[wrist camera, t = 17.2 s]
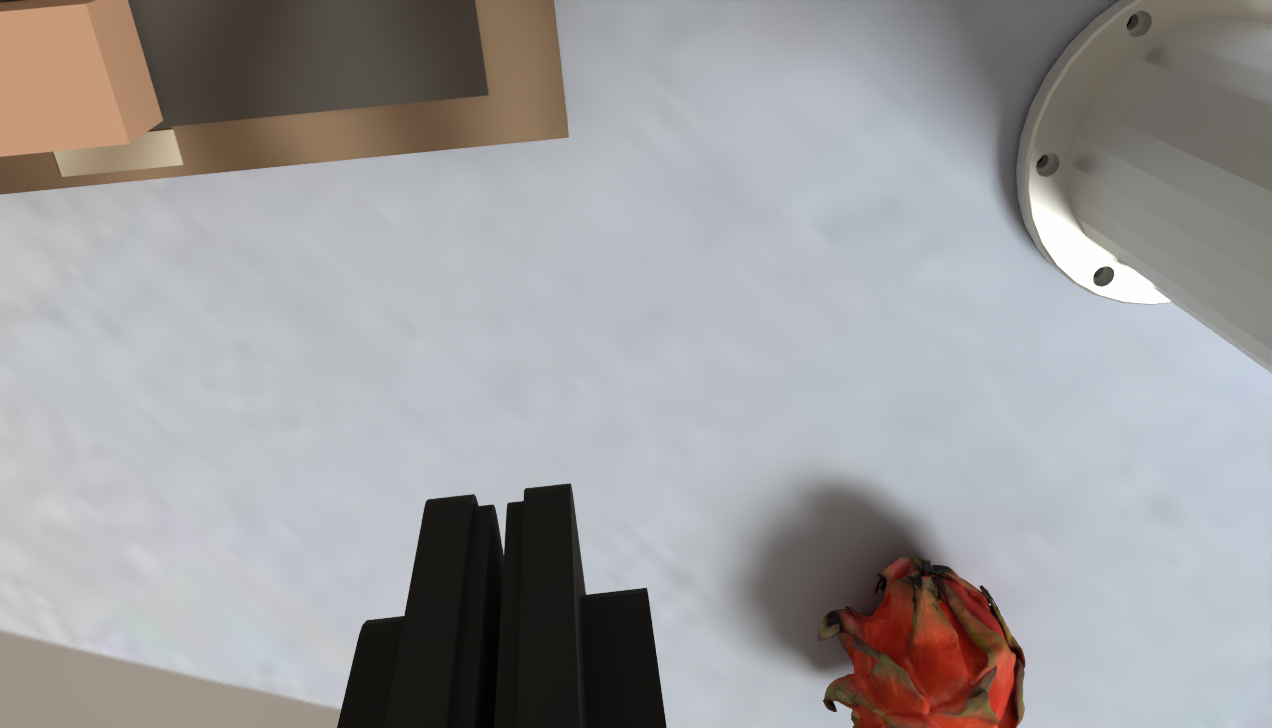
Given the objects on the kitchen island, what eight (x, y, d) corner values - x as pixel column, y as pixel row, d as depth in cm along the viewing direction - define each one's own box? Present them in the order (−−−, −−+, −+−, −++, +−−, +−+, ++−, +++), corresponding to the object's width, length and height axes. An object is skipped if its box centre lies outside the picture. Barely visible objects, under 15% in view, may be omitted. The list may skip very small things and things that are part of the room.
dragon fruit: (868, 699, 53) (866, 491, 49) (1039, 749, 48) (1052, 524, 45) (802, 805, 46) (795, 574, 42) (995, 875, 42) (1005, 623, 38)
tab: (125, -9, 31) (85, 3, 28) (163, 120, 33) (129, 143, 30) (-8, 3, 31) (-60, 16, 28) (38, 132, 33) (-7, 157, 30)
